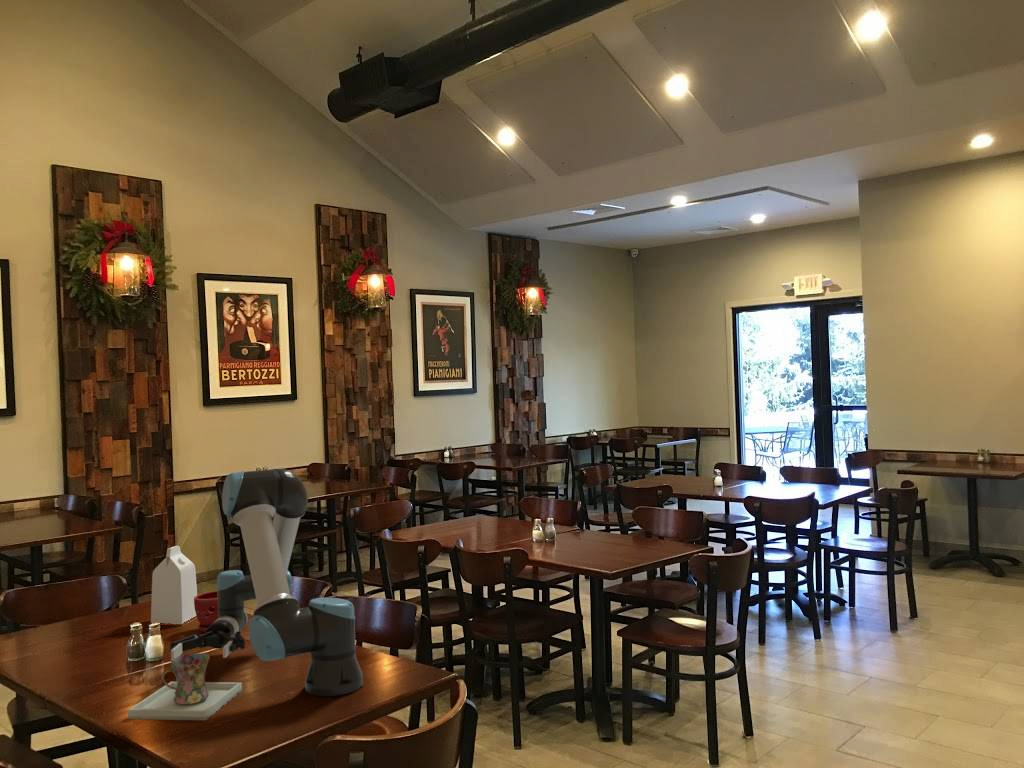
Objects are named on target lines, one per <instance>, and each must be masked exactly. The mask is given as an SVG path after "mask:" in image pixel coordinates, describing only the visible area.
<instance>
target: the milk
mask: <svg viewBox="0 0 1024 768" xmlns="http://www.w3.org/2000/svg"><path fill="white" fill-rule="evenodd" d="M166 549H167V550H166V555H165V558H164V559H163V560H162V561H161V562H160V563H159V564H158V565H157V566H156V567H155V568H154V569H153V571H152V577H151V578H152V579H151V580H152V581H151V583H152V584H151V605H150V607H151V608H150V624H151V623H152V622H159V623H165V624H166V623H167V624H168V623H169V624H170V623H171V624H183V623H184V622H186V621H188V620H190V619H191V618H193V617H195V616H196V612H195V607H194V597H195V596H197V595H198V586H197V573H196V565H195V564H194V562H193V561H191V560H190V559H189V558H188V556H186V555H185V554H184V553H182V551H181V548H180V545H174V546H172V547H168V548H166Z"/></svg>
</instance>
